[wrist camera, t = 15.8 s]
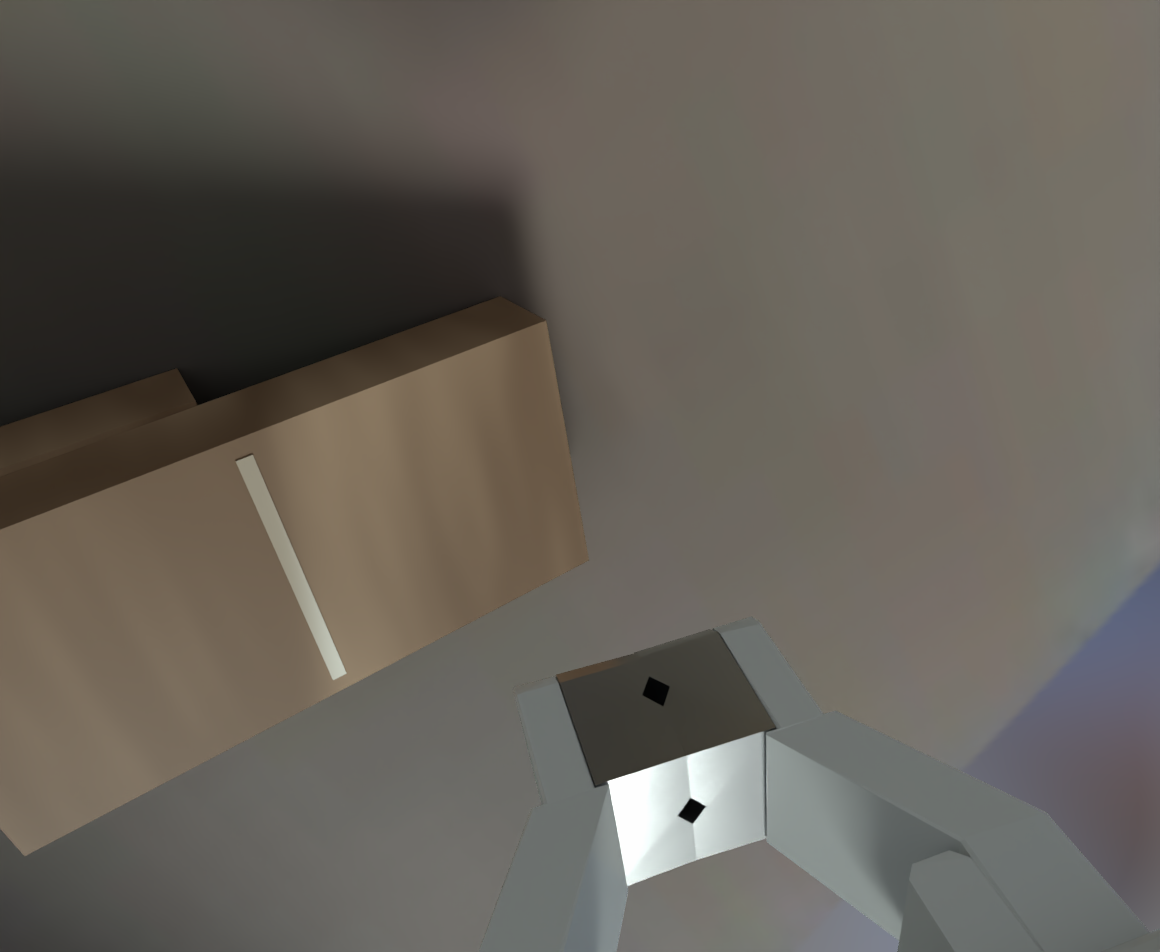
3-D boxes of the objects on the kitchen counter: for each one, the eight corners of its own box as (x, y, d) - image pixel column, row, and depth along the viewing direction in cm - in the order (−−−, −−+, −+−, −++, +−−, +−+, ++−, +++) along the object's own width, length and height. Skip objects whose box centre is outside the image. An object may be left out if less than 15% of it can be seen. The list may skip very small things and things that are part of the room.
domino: (546, 522, 17) (21, 781, 13) (499, 296, 14) (-178, 540, 11) (589, 560, 16) (24, 857, 12) (546, 320, 13) (-200, 607, 9)
